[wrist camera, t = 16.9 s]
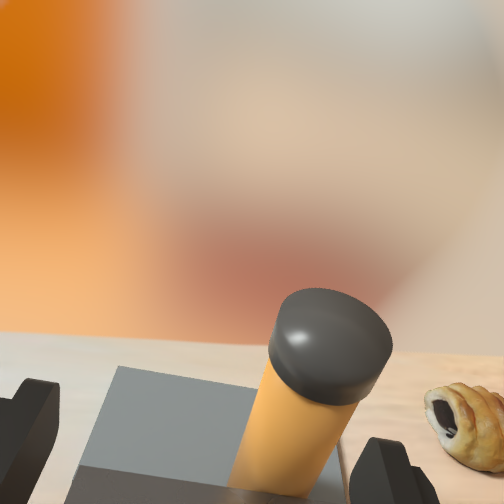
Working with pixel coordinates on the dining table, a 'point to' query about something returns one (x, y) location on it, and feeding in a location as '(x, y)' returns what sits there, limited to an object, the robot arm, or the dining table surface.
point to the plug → (309, 390)
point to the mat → (181, 431)
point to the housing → (161, 490)
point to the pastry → (468, 424)
